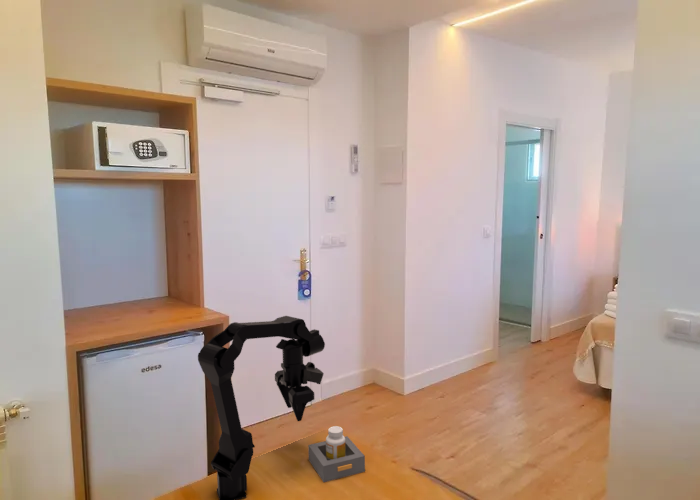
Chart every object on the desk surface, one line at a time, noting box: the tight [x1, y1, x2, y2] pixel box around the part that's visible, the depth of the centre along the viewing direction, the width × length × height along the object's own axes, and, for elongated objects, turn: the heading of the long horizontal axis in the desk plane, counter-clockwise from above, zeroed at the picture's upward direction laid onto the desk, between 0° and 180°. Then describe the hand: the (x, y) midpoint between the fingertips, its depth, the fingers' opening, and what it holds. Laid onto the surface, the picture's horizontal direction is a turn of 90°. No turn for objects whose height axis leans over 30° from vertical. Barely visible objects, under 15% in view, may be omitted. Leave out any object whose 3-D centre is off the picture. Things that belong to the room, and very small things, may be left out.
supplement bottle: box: [325, 425, 346, 461], centre depth 137 cm, size 5×5×10 cm
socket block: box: [307, 435, 366, 483], centre depth 137 cm, size 12×12×4 cm
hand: (294, 414), depth 141 cm, fingers open, 9 cm apart
